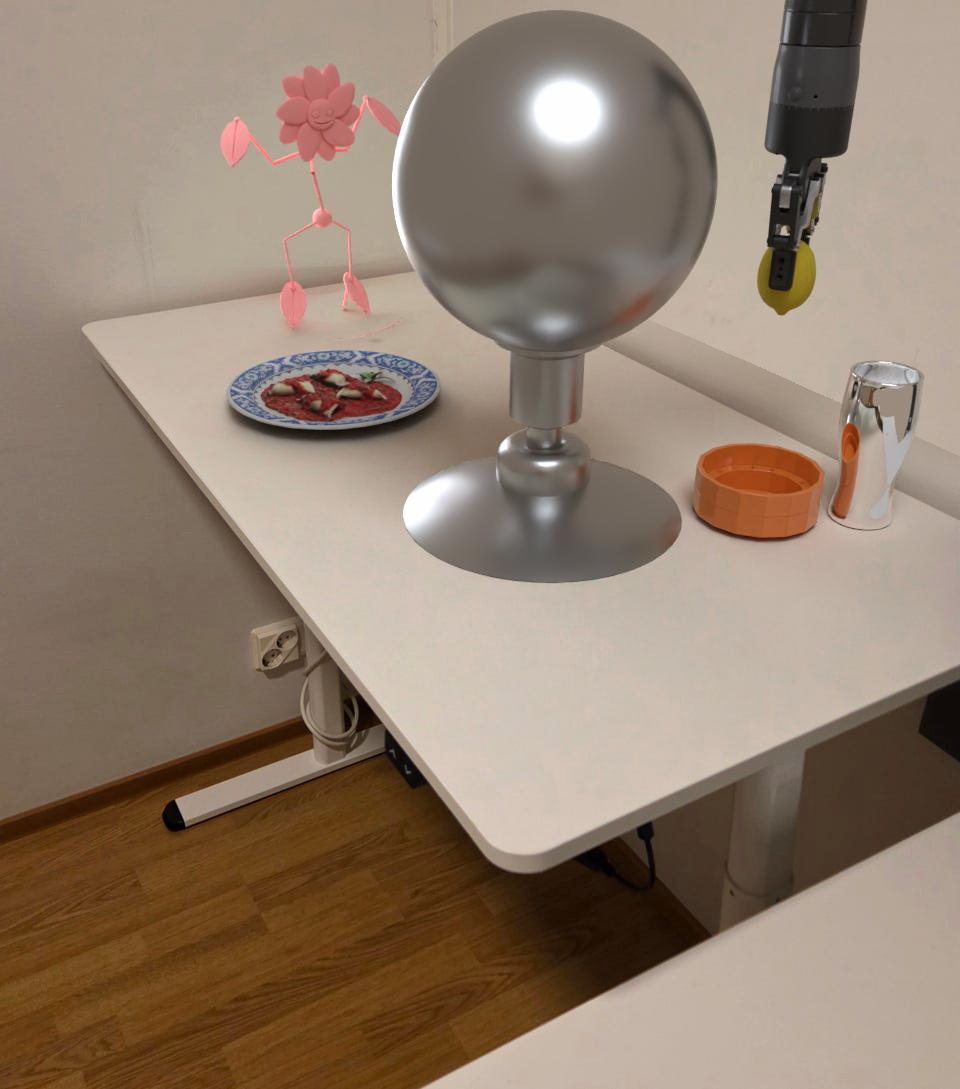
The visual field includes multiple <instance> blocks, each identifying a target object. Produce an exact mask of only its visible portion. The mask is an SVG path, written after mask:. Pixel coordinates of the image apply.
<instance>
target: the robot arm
mask: <svg viewBox="0 0 960 1089" xmlns="http://www.w3.org/2000/svg"><path fill="white" fill-rule="evenodd" d="M868 1H869V0H784V5H783V10H782V20H781V27H780V28H781V29H780V37H779V44H778V50H777V54H776V58H775V62H774V65H773V70H772V77H771V87H770V92H769V93H770V94H769V102H768V111H767V119H766V127H765V135H764V149H765V150H766V151H767V152H768V153H770V154H773V155H777V156H782V157H783V158H785V162H784V166H783V170H782V173H778V174H777V175H776V178H775V182H774V183H773V186H772V187H771V190H770V193H771V200H770V210H769V221H768V231H767V238H766V247H767V248H769V247H771V250H773V252H772V259H771V267H770V274H769V282H768V286H769V288H770V289H772V290H779V291H789V290H790V289H791V288H792V286H793V280H794V273H795V266H796V259H797V252H798V249H799V248H800V240H802V241H803V242H805V243H806V244H807V245H808V246H809V247H810V243H811V237H813V234H814V233H815V231H816V227H817V226H818V223H819V222H820V211H821V208H822V200H823V194H824V189H825V185H826V181H827V180H826V179H827V173H828V172H829V166H828V162H822V159H830V158H831V159H832V158H837V157H840V156H843V155H844V154H845V153H846V152H847V151H848V148H849V142H850V137H851V136H850V135H851V129H852V123H853V117H854V110H855V105H856V104H855V103H856V98H857V91H858V86H859V78H860V70H861V69H860V68H861V47H862V46H861V44H862V41H863V35H864V29H865V22H866V15H867V8H868ZM784 227H785V230H786V234H788V235H790V236H788V235H786V234H781V232H782V228H784Z"/></svg>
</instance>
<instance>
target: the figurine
mask: <svg viewBox="0 0 960 1089" xmlns="http://www.w3.org/2000/svg"><path fill="white" fill-rule="evenodd" d="M340 78H341V77H340V73H339V71H338V67H337V66H336V65H335V64H334V63H327V64H326V66H324V68H323V69H322V71H320V70H319V69H317V68H316V67H314V66H313V65H306V66H305V67H304V68H303V73H302V77H301V76H298V75H287V76H285V77H283V79H282V80H281V87H282V90H283V92H284V93H285V96H286V98H287V99H286V100H283V101H282V103H281V104H280V105H279V106H278V107H277V109H276V111H275V115H276V118H277V119H279V120H280V121H282V124H281V125H280V128H279V132H278V139H279V142H280V143H281V144H282V145H291V144H293V143H295V142H296V144H297V149H298V150H297V151H296V152H294V153H291V154H289V155H288V154H287V155H286V156H283V157H281V158H279V159H276V160H273V159H272V158H271V157H270V155H269V154H268V153H267V152H266V150H265V149H264V148H263V146H262V145H260V143H259V142H258V141H257V140H256V138H255V137H254V136H253V135H252V133H251V132H250V131H249V130H248V127H247V125H246V123H244V122H243V120H241V117H239V116H235V117H234V119H233V120H232V121H230V122H228V123H227V124H226V126H225V128H224V129H223V131H222V132H221V136H220V149H221V154H222V155H223V157H224V159H225V160H226V162H227V163H228V165H229V166H230V167H231V169H233V168H234V167H235V166H236V165H237V164H239V163H240V161H241V160H242V159H243V158H244V157H245V155H246V154H247V151H248V149H249V146H250V142H252V143H253V144H254V146H255V147H256V148H257V149H258V151H259V152H260V153H261V154H262V156H264V158H265V159H266V161H267V162H268V163H269V164H272V167H275V166H277V165H280V164H281V163H285V162H287V161H289V160H293V159H294V158H297V157H299V156H300V160H302V161H303V162H304V163H309V164H310V174H311V175H310V176H311V180H312V183H313V185H314V189H315V193H316V196H317V199H318V204H319V208H317V209H316V210H315V211H314V212H313V214H312V222H311V223H309V224H308V225H306V226H304V227H303V228H300V229H299V230H297V231H295V232H293V233H292V234H290V235H288V236H286V237H284V238H283V240H282V242H283V249H284V252H285V258H286V264H287V269H288V275H289V280H290V281H287V282H286V283H284V285H283V288H282V290H281V292H280V298H279V306H280V310H281V313H282V315H283V317H284V318H285V320H286V321H287V323H288V325H289V326H290V327H291V328H292V327H293V326H294V327H295V328H296V327H297V326H298V324H299V323H300V322H301V321H302V320H303V318H304V317H305V314H306V310H307V296H306V293H305V291H304V289H303V286H302V285H301V284H300V283H298V282H297V281H296V280H294V277H293V272H292V267H291V261H290V256H289V250H288V245H287V240H289V239H291V238H293V237H295V236H296V235H298V234H300V233H302V232H304V231H306V230H308V229H310V228H311V227H313V226H316V227H317V228H320V229H325V228H328V227H329V226H330V225H331V223H332V224H334V225H336V226H338V227H339V228H341V229H343V230H345V231H347V242H348V244H347V245H348V267H349V271H347V272H345V273H343V278H342V280H343V284H344V287H345V288H344V289H345V291H344V296H343V302H342V306H346V308H342V307H341V309H342V310H346V309H347V303H348V300H349V298H350V299H351V300H352V301H353V303H354V304H355V305H356V306H358V307H359V308H360V309H361V310H362V311H364V312H365V313H367V312H368V313H369V314H370V313H371V310H370V302H369V296H368V294H367V291H366V289H365V287H364V285H363V284H362V282H361V281H360V280H359V278H357V277H356V276H355V275H354V274H353V266H352V240H351V231H350V228H348V227H346V226H344V225H343V224H341V223H339V222H337V221H335V220H334V219H333V217H332V216H333V215H332V214H331V212H330V211H329V210H328V209H327V208H325V206H324V202H323V200H322V195H321V191H320V187H319V184H318V179H317V175H316V169H315V161H314V159H315V156H316V155H318V157H320V158H321V159H322V160H324V161H326V162H332V160H333V159H334V158H335V156H336V154H337V153H348V152H349V150H350V148H351V146H352V145H353V144H355V139H356V137H355V135H356V133H357V129H358V127H359V124H360V122H361V119H362V116H363V114H364V112H365V109H366V108H367V109H368V110H369V112H370V114H371V115H372V117H373V118H374V119H375V120H376V121H377V123H378V124H379V125H381V126H382V127H383V128H384V129H386V130H387V131H388V132H389V133H391V134H393V135H396V136H397V137H399V134H400V130H401V127H402V124H401V123H400V121H399V119H398V118H397V116H396V115H395V114H394V113H393V112H392V111H391V109H389V108H388V106H386V105H385V104H384V103H383V102H381V101H379V100H378V99H377V98H375V97H370V96H368V94H366V95H363V97H362V100H363V101H362V104H361V106H360V107H359V106H357V105H356V104H353V102H354V99H355V95H356V94H355V93H356V87H355V84H354V83H353V82H351V81H349V82H346V83H344V84H341V79H340ZM352 125H353V127H352V129H351V128H350V126H352ZM368 313H367V314H368ZM400 321H401V320H400V319H399V320H397V322H396V323H397V324H396V323H393V324H392V325H391V326H388V327H386V328H384V329H381V330H378V331H374V332H371V333H369V334H370V335H373V334H372V333H374V334H376V332H377V333H380V332H379V331H381V332H383V331H385V329H386V330H388V329H394V328H395V327H397V326H398V323H400ZM395 324H396V325H395ZM367 334H368V333H365V334H364V335H366V337H368V335H367Z"/></svg>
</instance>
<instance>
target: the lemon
mask: <svg viewBox="0 0 960 1089" xmlns="http://www.w3.org/2000/svg"><path fill="white" fill-rule="evenodd" d="M787 236H790V234H788V235H787ZM772 252H773V250H771V247H767V249H766V250H765V251H764V253H763V255H762V258H761V260H760V263H759V265H758V269H757V275H756V285H757V291H758V294H759V296H760V299H761V300H762V302H763V303H764V304H766V305H767V306H768V307H769V308H771V309H773V310H774V311H775V313H776V314H777V315H778V316H781V317H782V316H785V315H786V314H787V313H789V312H790V311H792V310H795V309H797V308H799V307H801V306H802V305H803V304H805V302H806V301H807V300H808V299H809V298H810V296H811V294H812V292H813V291H814V290H813V289H814V287H815V284H816V277H817V265H816V257H815V254H814V252H813V250H812V248H811V247H810V245H809V246H808V245H807V244H806V243H805V242H803V241H802V240H800V248H799V249H798V252H797V259H796V266H795V273H794V280H793V286H792V288H791V289H790V290H789V291H779V290H772V289H770V288H769V286H768V282H769V274H770V267H771V259H772Z"/></svg>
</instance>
